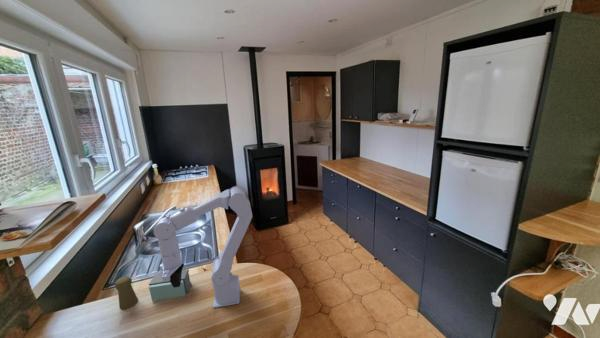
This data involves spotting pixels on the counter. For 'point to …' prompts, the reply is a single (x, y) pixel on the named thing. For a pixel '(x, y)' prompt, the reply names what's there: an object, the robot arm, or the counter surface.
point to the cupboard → (158, 280)
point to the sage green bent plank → (166, 291)
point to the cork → (125, 293)
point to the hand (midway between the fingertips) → (177, 285)
